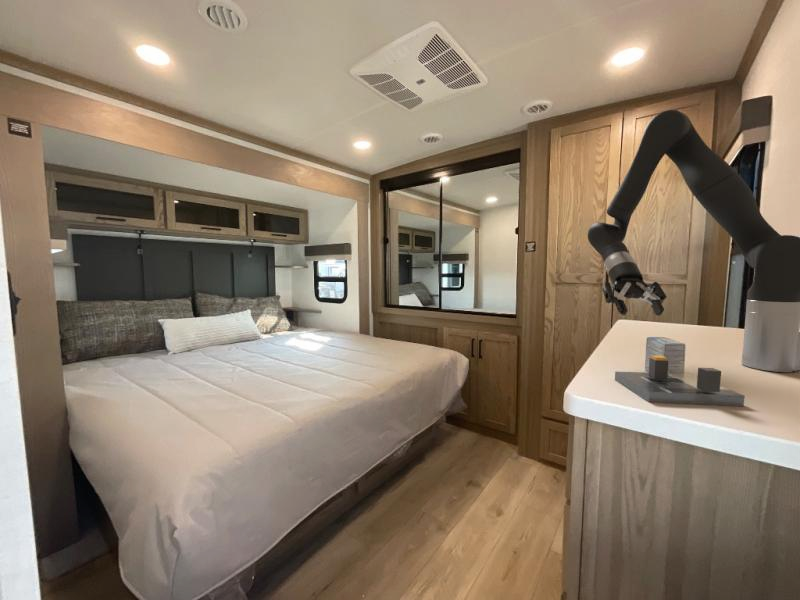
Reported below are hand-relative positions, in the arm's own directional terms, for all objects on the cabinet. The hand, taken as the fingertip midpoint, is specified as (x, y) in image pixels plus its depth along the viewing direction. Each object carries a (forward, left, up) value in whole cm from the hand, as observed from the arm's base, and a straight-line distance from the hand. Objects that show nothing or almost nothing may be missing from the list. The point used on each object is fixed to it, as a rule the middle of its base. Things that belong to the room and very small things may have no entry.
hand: (642, 313), depth 88 cm
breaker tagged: (+7, +20, -11) cm, 24 cm away
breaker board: (+5, +21, -14) cm, 26 cm away
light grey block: (0, +10, -14) cm, 17 cm away
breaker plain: (+2, +26, -11) cm, 29 cm away
